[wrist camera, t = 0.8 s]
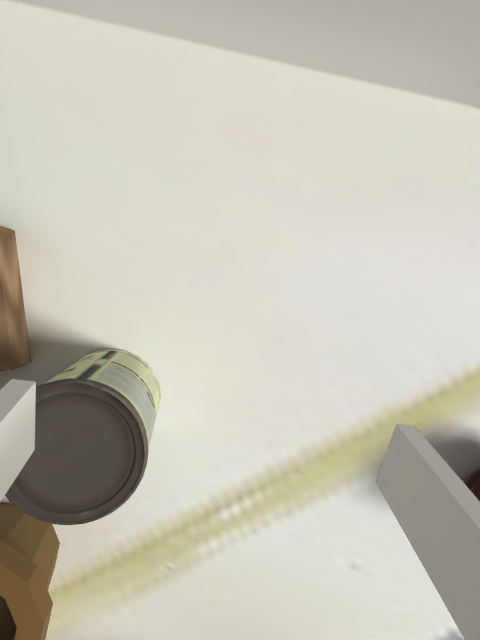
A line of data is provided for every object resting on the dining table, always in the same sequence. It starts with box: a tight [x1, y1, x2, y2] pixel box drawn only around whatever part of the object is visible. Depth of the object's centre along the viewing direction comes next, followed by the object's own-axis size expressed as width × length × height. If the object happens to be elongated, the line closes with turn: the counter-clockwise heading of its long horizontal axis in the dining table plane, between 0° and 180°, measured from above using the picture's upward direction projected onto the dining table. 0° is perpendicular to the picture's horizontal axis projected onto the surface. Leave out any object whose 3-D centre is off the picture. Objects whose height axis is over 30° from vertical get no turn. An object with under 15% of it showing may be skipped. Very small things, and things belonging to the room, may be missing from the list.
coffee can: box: [5, 349, 161, 525], centre depth 33 cm, size 10×10×14 cm
